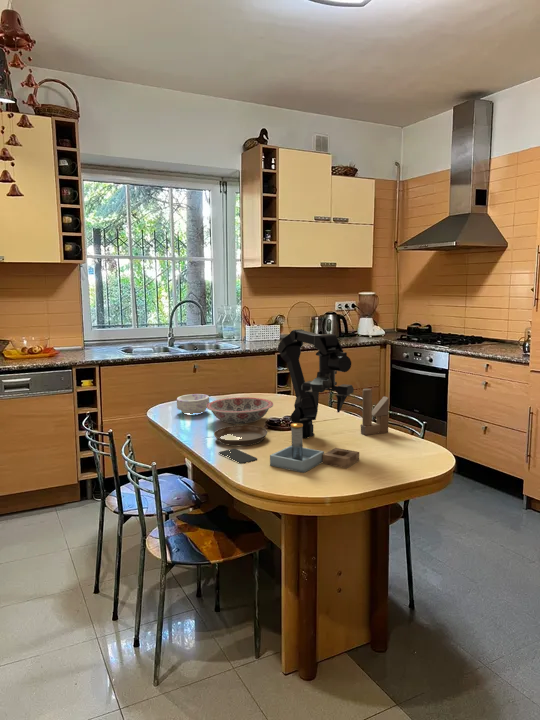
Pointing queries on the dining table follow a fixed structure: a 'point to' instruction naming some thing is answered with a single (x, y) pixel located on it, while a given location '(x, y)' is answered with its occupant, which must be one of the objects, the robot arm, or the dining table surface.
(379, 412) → the wooden bracket stand
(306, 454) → the tray
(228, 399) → the ceramic bowl
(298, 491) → the dining table surface
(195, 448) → the dining table surface
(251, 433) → the plant saucer
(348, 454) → the brown square socket base
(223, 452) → the phone
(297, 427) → the pin
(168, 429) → the dining table surface
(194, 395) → the white purple bowl
